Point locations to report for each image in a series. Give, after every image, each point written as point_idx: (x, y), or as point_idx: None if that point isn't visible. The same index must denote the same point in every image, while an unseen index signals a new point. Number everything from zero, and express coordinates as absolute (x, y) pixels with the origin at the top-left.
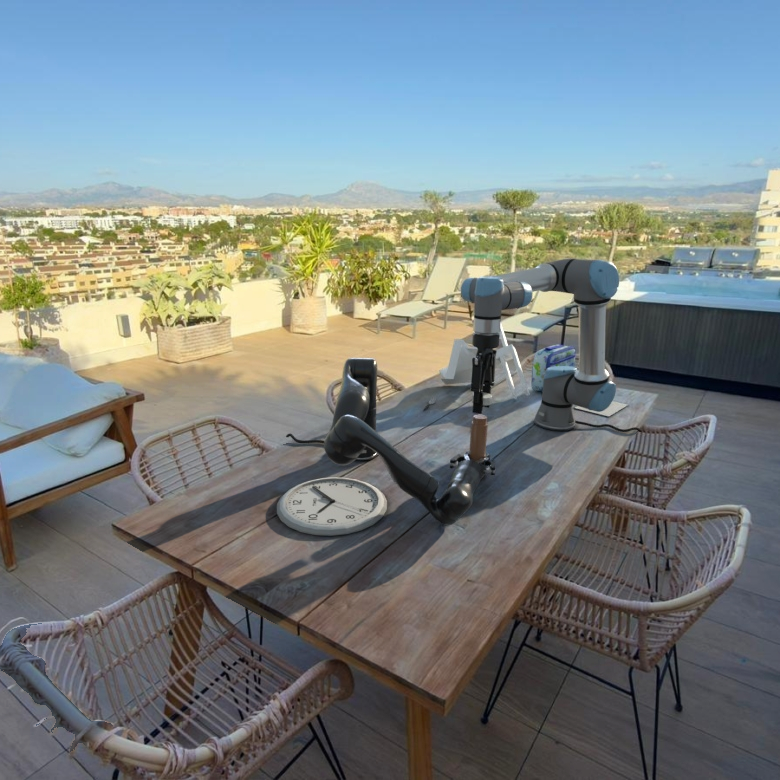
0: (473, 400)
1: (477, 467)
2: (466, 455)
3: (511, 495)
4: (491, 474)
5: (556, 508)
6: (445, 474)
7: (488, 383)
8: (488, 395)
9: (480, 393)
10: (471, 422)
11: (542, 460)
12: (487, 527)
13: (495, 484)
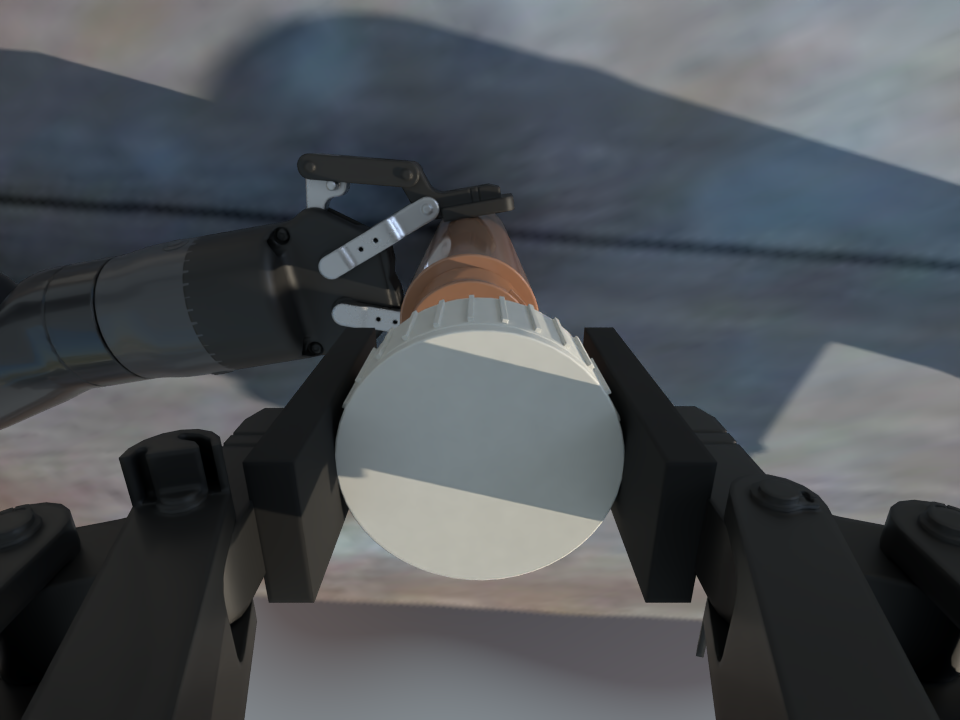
0: (301, 388)
1: (247, 358)
2: (420, 216)
3: None
4: None
5: (393, 560)
6: (401, 101)
7: (718, 601)
8: (514, 538)
9: (269, 558)
10: (447, 257)
11: (768, 437)
12: (124, 426)
13: None
